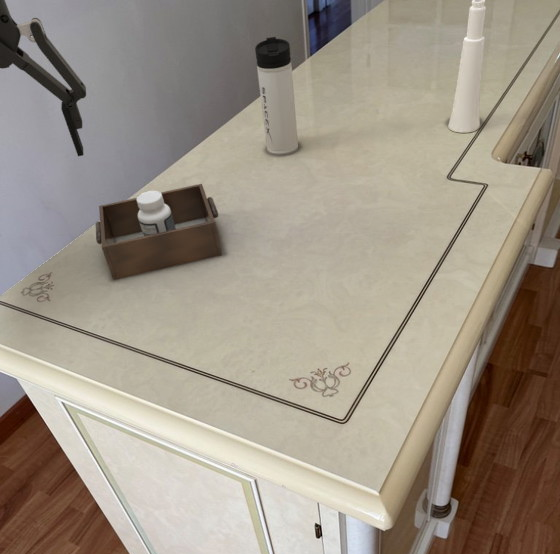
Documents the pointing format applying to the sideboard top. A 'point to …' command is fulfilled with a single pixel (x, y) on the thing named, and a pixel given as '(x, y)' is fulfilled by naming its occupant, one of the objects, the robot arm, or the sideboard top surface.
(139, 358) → the sideboard top surface
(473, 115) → the cosmetic bottle
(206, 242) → the brown wooden open box
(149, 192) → the pill bottle
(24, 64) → the robot arm
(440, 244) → the sideboard top surface
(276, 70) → the travel mug
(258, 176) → the sideboard top surface
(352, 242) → the sideboard top surface
